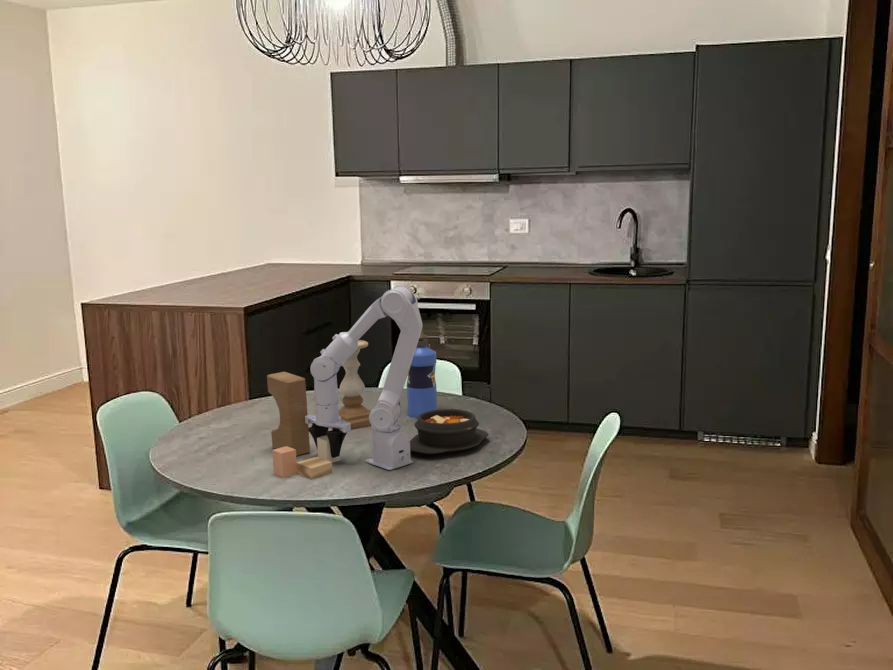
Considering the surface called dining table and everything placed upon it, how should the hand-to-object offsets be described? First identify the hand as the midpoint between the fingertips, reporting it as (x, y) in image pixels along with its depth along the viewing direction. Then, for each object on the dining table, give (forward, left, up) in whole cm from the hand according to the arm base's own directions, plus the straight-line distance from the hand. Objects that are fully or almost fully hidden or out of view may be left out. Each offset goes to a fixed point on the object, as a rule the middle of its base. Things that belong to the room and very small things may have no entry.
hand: (329, 454), depth 204 cm
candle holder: (+22, -25, -2) cm, 33 cm away
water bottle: (+14, -45, -2) cm, 47 cm away
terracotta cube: (0, +13, -2) cm, 13 cm away
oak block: (-5, +8, -2) cm, 10 cm away
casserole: (-14, -28, -2) cm, 31 cm away
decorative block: (+14, +2, -2) cm, 14 cm away
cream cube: (0, 0, -2) cm, 2 cm away
